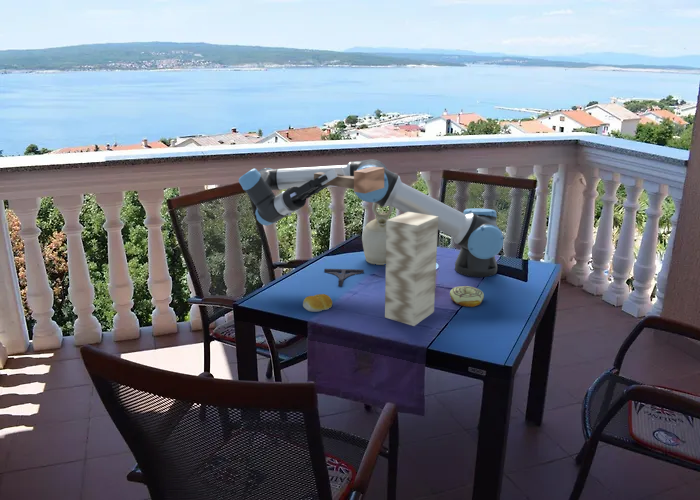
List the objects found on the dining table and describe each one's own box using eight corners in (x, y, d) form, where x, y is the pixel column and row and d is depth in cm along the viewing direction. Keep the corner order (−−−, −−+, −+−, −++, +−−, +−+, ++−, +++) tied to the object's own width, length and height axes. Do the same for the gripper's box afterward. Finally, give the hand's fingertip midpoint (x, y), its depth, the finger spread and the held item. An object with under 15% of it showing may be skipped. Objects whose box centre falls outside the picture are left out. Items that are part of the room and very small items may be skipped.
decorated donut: (453, 308, 170) (454, 297, 169) (446, 295, 180) (447, 284, 179) (487, 307, 171) (487, 296, 169) (478, 294, 181) (479, 283, 180)
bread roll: (337, 308, 171) (336, 296, 170) (312, 314, 166) (311, 302, 165) (323, 299, 178) (323, 287, 176) (299, 305, 173) (298, 293, 172)
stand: (384, 317, 164) (386, 220, 154) (405, 304, 173) (408, 211, 164) (414, 326, 158) (417, 225, 149) (433, 312, 167) (438, 216, 158)
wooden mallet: (306, 184, 170) (306, 165, 168) (326, 179, 178) (326, 161, 176) (365, 193, 158) (365, 172, 156) (384, 187, 165) (384, 167, 163)
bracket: (319, 287, 189) (319, 279, 188) (324, 272, 203) (324, 265, 202) (361, 288, 188) (361, 281, 187) (363, 273, 202) (363, 266, 201)
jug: (393, 269, 204) (394, 203, 196) (355, 263, 210) (355, 199, 202) (407, 257, 217) (409, 195, 209) (371, 252, 223) (371, 191, 215)
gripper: (310, 206, 189) (359, 178, 174) (278, 215, 176) (327, 187, 161) (302, 186, 189) (349, 157, 174) (269, 194, 177) (317, 163, 162)
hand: (338, 171), depth 168 cm, fingers closed on wooden mallet, 3 cm apart
